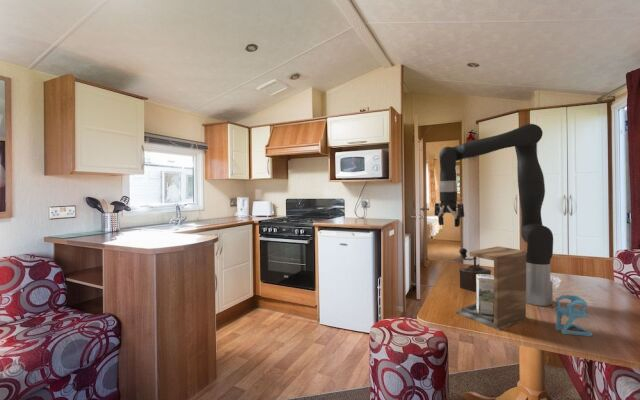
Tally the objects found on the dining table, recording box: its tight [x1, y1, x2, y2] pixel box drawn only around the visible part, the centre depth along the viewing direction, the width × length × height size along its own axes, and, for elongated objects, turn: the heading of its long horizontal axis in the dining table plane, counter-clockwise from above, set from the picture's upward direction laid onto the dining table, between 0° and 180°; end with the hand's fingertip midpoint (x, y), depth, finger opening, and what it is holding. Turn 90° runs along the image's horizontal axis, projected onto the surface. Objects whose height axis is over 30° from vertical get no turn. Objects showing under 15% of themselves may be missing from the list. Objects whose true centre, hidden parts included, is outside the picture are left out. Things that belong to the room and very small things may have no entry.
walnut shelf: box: [455, 245, 527, 331], centre depth 118 cm, size 17×18×26 cm
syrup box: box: [475, 274, 494, 315], centre depth 120 cm, size 6×6×14 cm
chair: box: [554, 294, 593, 337], centre depth 104 cm, size 8×8×12 cm
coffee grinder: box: [459, 247, 492, 293], centre depth 151 cm, size 16×11×18 cm
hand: (448, 225), depth 142 cm, fingers open, 8 cm apart
